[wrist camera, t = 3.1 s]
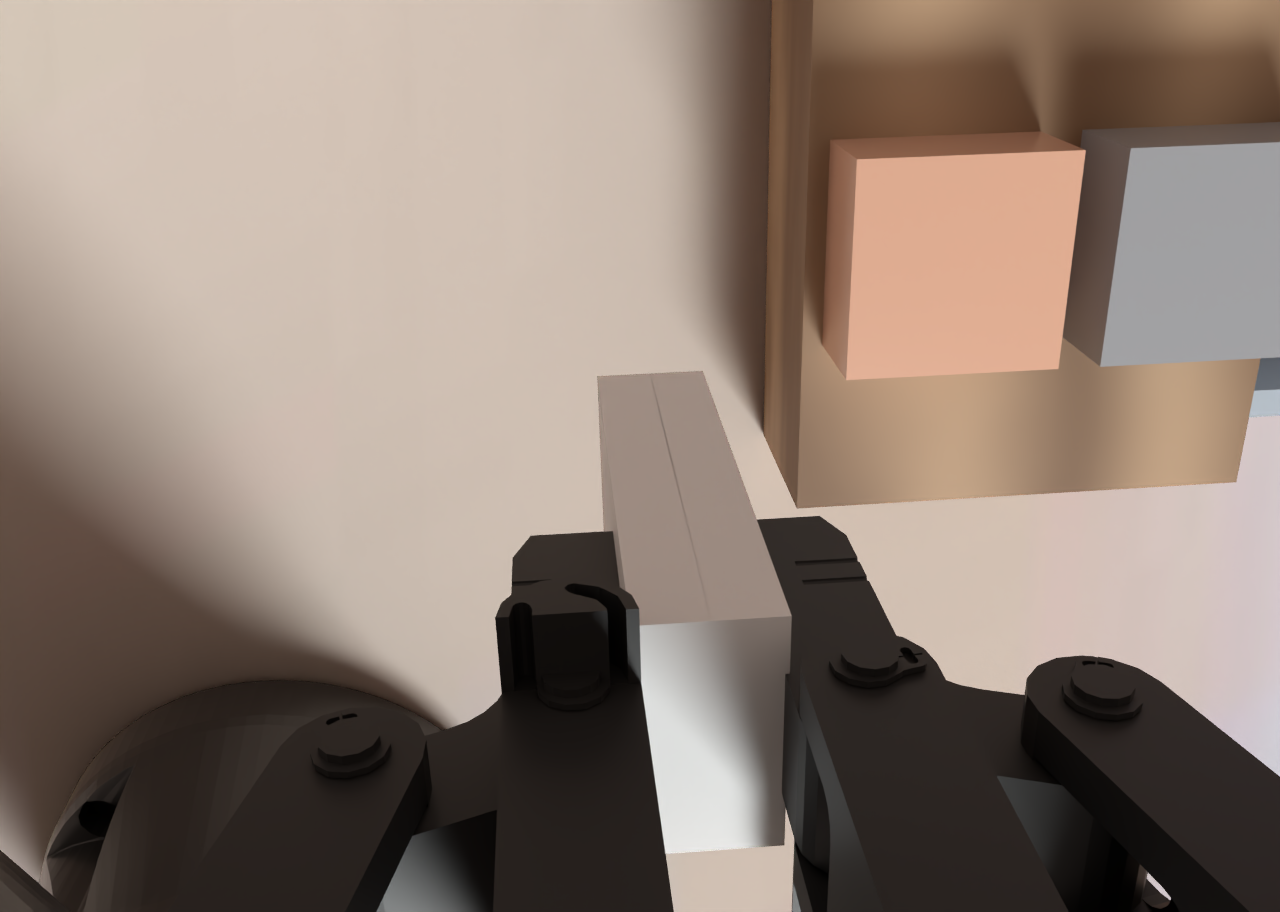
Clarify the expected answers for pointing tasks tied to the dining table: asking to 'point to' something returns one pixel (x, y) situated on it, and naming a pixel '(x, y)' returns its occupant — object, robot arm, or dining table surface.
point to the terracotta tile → (949, 253)
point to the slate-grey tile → (1177, 245)
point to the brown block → (980, 104)
